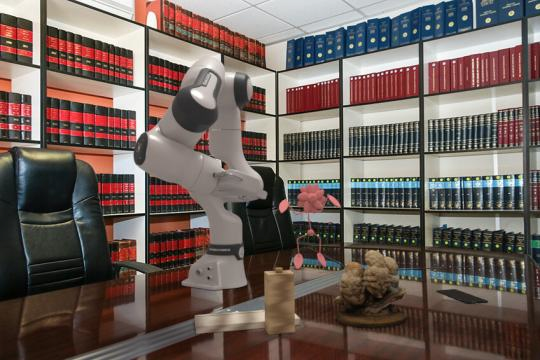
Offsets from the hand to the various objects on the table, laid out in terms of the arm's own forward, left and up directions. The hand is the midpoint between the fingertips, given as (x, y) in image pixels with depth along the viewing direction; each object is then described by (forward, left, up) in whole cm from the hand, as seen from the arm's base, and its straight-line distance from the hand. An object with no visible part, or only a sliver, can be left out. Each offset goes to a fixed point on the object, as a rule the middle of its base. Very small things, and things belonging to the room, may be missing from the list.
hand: (254, 196), depth 99 cm
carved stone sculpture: (+26, +12, -30) cm, 42 cm away
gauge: (+5, 0, -30) cm, 31 cm away
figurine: (-6, +70, -30) cm, 76 cm away
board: (-2, -1, -30) cm, 30 cm away
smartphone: (+47, +43, -31) cm, 70 cm away
